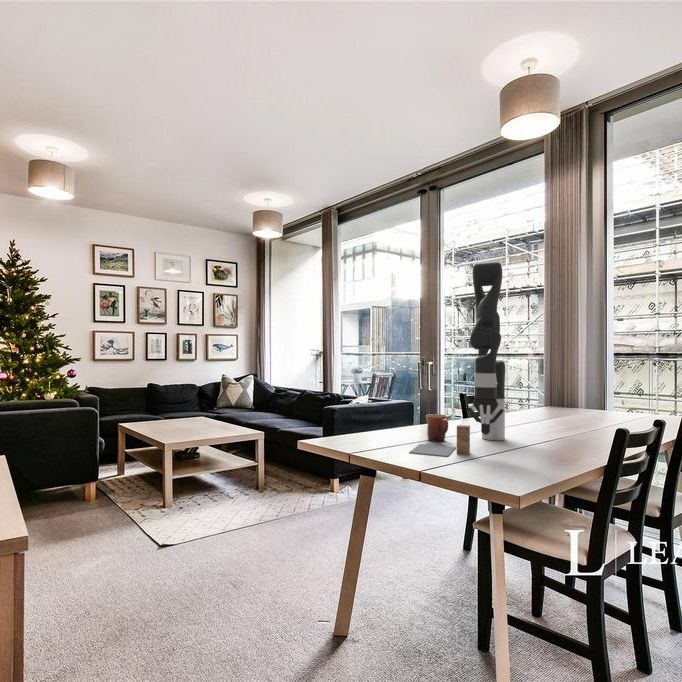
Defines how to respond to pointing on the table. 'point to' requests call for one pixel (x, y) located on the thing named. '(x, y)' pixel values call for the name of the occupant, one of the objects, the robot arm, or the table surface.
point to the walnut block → (463, 439)
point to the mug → (436, 427)
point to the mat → (433, 450)
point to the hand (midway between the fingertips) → (485, 434)
